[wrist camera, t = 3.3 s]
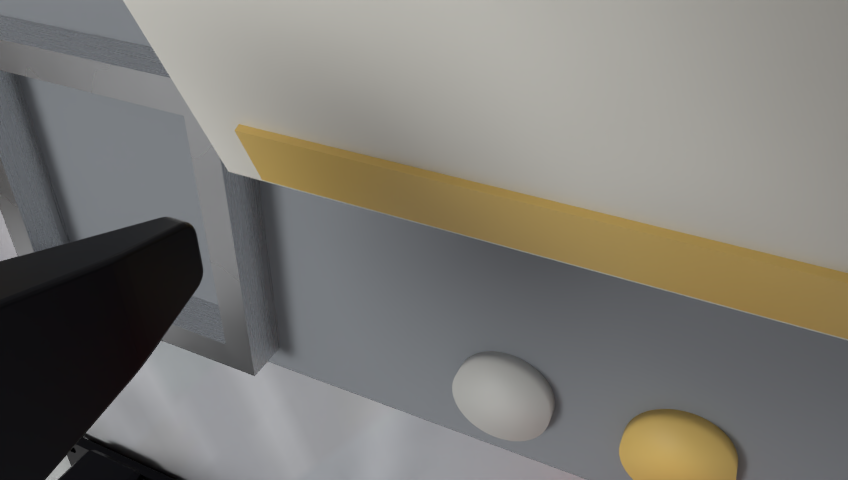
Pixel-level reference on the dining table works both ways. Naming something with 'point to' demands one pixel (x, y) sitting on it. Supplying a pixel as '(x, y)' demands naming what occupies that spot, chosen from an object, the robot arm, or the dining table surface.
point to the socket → (217, 188)
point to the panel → (469, 313)
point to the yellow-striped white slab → (551, 128)
